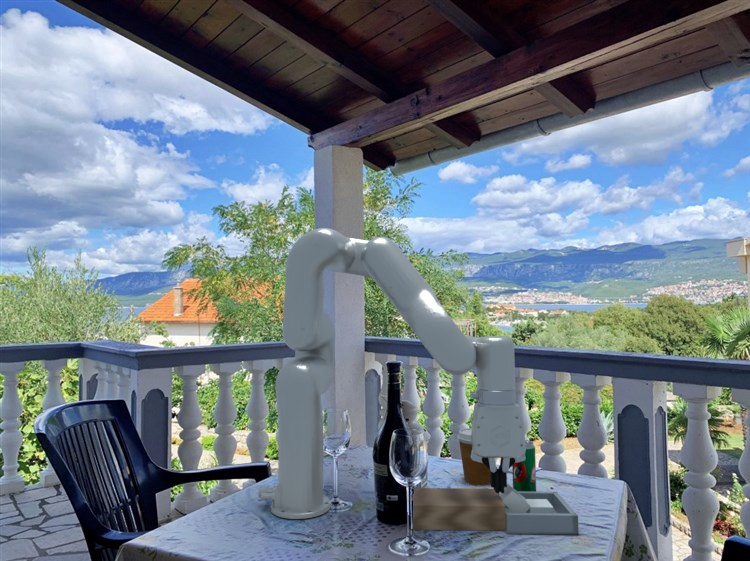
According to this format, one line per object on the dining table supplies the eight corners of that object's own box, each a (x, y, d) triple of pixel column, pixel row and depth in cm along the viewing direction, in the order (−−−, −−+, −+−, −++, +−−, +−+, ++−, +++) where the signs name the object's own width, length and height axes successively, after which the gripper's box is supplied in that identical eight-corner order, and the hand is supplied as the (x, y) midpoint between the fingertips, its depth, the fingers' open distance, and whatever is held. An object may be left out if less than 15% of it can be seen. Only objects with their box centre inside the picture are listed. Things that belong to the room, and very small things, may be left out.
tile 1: (502, 502, 100) (512, 490, 100) (498, 494, 105) (507, 483, 105) (521, 518, 100) (530, 506, 100) (515, 509, 105) (524, 498, 105)
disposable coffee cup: (451, 477, 129) (450, 429, 130) (485, 474, 132) (484, 426, 133) (469, 489, 120) (468, 437, 121) (505, 485, 123) (504, 434, 124)
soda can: (537, 500, 113) (536, 445, 114) (513, 499, 114) (512, 444, 115) (535, 493, 118) (533, 439, 119) (512, 491, 119) (511, 438, 120)
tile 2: (553, 507, 100) (553, 523, 100) (546, 499, 104) (547, 514, 104) (530, 507, 100) (530, 523, 100) (524, 498, 105) (524, 514, 104)
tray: (507, 534, 96) (507, 514, 96) (494, 508, 109) (494, 491, 109) (578, 535, 95) (578, 515, 95) (557, 508, 108) (556, 491, 108)
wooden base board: (410, 529, 98) (410, 505, 99) (409, 509, 108) (409, 487, 109) (505, 530, 97) (505, 506, 98) (496, 510, 107) (495, 488, 108)
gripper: (461, 400, 101) (463, 497, 99) (538, 400, 100) (541, 497, 99) (457, 394, 108) (458, 484, 107) (529, 394, 107) (532, 485, 106)
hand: (498, 490), depth 103 cm, fingers closed
